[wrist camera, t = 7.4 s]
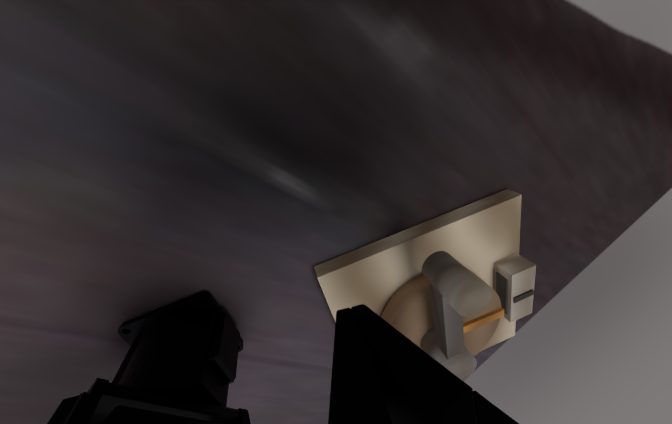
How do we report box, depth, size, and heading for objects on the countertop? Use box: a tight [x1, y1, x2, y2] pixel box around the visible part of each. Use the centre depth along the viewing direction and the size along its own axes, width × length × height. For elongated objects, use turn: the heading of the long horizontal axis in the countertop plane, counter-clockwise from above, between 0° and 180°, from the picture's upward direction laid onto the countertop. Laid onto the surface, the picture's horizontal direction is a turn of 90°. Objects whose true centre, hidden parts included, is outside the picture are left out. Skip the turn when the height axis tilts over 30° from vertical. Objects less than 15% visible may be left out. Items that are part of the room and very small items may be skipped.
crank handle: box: [381, 251, 504, 381], centre depth 21 cm, size 11×16×7 cm
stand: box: [314, 189, 536, 351], centre depth 25 cm, size 18×18×4 cm
